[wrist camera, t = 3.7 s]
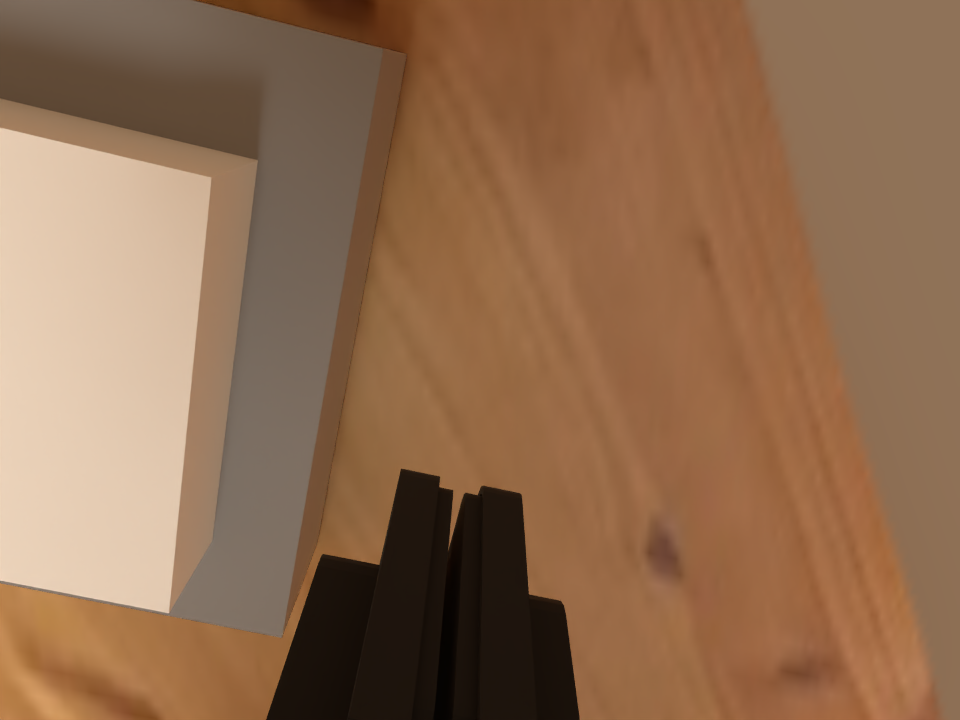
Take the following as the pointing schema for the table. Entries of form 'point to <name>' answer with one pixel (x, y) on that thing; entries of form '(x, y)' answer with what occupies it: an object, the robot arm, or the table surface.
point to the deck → (271, 244)
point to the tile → (114, 352)
